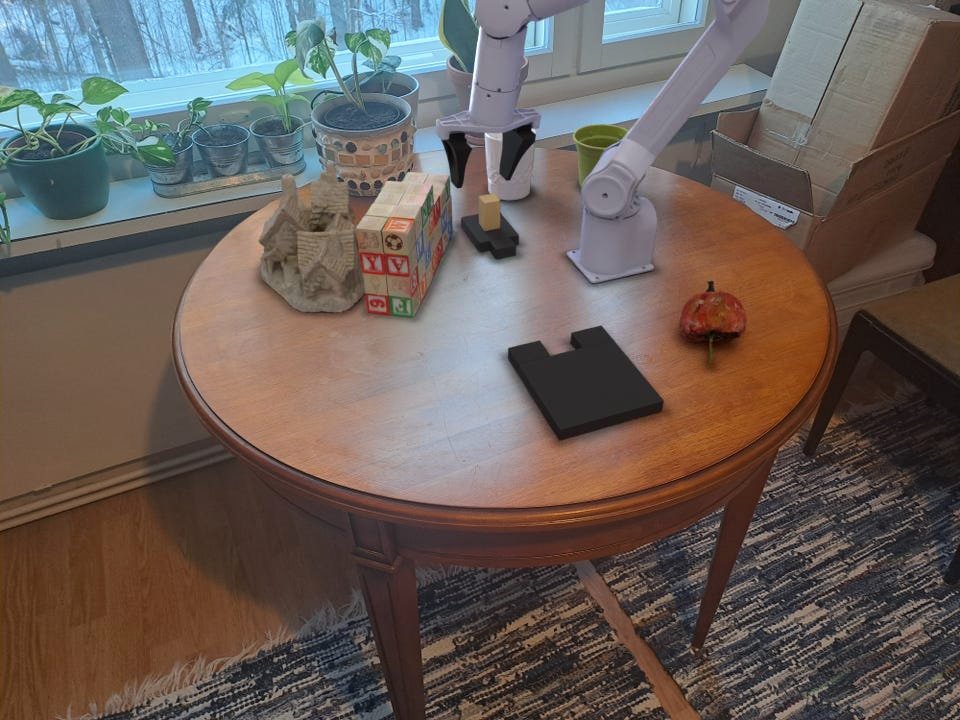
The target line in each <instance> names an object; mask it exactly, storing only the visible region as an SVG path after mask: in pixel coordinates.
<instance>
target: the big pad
mask: <svg viewBox="0 0 960 720" xmlns="http://www.w3.org/2000/svg"><path fill="white" fill-rule="evenodd" d="M570 345H571V346H572V348H573V349H572V350H568V351H564V352H560V353H555V354H551V353H549V351H548V349H547V348H546V347H545V345H544V344H543V343H542V341H541V340H540V339H539V340H535V341H531V342H527V343H523V344H518V345H514V346H511V347H508V348H507V359H508V361H509V363H510V364H511V366H512V367H513V369H514V371H515V373H516V374H517V376H518V377H519V379H520V380H521V382H522V383H523V385H524V386H525V388H526V390H527V392H528V393H529V395H530V396H531V398H532V399H533V401H534V403H535V404H536V406H537V407H538V409H539V410H540V412H541V414H542V415H543V416H544V419H545V420H546V422H547V424H548V425H549V427H550V428H551V430H552V431H553V433H554V434H555V436H556V438H557V439H558V441H564V440H567V439H570V438H573V437H577V436H580V435H584V434H588V433H591V432H594V431H598V430H601V429H605V428H609V427H612V426H616V425H619V424H622V423H626V422H629V421H633V420H636V419H637V420H638V419H640V418H643V417H648V416H651V415H654V414H658V413H661V412H662V411H663V407H664V402H665V400H664V399H663V398H662V396H661V395H660V394H659V393H658V392H657V390H656V389H655V388H654V387H653V386H652V384H651V383H650V382H649V380H648V379H647V378H646V377H645V376H644V375H643V373H642V372H641V371H640V370H639V368H638V367H637V366H636V365H635V364H634V363H633V361H632V360H631V359H630V358H629V357H628V355H627V354H626V353H625V352H624V351H623V349H622V348H621V347H620V346H619V345H618V344H617V342H616V341H615V339H614V338H613V337H612V336H611V335H610V334H609V332H608V331H607V330H606V329H605V328H604V326H603V325H601V324H600V325H596V326H593V327H589V328H585V329H581V330H580V329H579V330H577V331H576V330H575V331H573V332H571V333H570Z"/></svg>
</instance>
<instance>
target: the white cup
mask: <svg viewBox="0 0 960 720" xmlns="http://www.w3.org/2000/svg"><path fill="white" fill-rule="evenodd" d="M531 131H533V132H534V133H535V134H536V135H537V129H531ZM502 138H503V137H502V133H484V146H485V147H484V149H485V164H486V165H485V166H486V175H487V189H488V191H487V192H488V194H492V193H494V194H495V195H496V196H497V197H498V198H499V200H502V201H517V200H521V199H525V198H526V197H527V196H528V195H530V191H531V185H532V184H531V182H532V177H533V170H534V163H535V160H534V159H535V152H536V151H535V149H536V142H535V143H534V144H532V145H531V146H530V148H529V149H528V150H527V151H526V152H525V154H524V155H523V157H522V158H521V160H520V161H519V163H518V165H517V167H516V169H515V171H514V173H513V175H512V177H511V180H509V181H506V180H505V179H504V178H503V177H502V176H501V175H500V174H499V168H500V160H501V154H502ZM536 139H537V138H536ZM536 139H535V141H536Z"/></svg>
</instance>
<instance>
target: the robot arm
mask: <svg viewBox="0 0 960 720" xmlns="http://www.w3.org/2000/svg"><path fill="white" fill-rule="evenodd" d="M590 2H591V0H475V2H474V14H475V19H476V21H477V24H478V25H479V29H478V38H477V43H476V51H475V58H474V66H473V74H472V83H471V91H470V99H469V107H468V109H466V110H463V111H461V112H458V113H455V114H452V115H449V116H446V117H441V118H436V121H435V131H434V133H435V134H436V136H437V137H438V138H439V139H440V141H441V144H442V146H443V149H444V153H445V155H446V159H447V162H448V168H449V175H450V183H452V185H453V186H454V187H455V188H456V189H462V188H463V186H464V182H465V173H466V168H467V163H468V160H469V157H470V155H471V153H472V151H473V147H472V146H471V145H470V144H469V143H468V138H466V135H474V134H485V133H502V137H503V138H502V154H501V160H500V168H499V174H500V175H501V176H502V177H503V178H504V179H505V180H506V181H509V180H511V177H512V175H513V173H514V171H515V169H516V167H517V165H518V163H519V161H520V160H521V158H522V157H523V155H524V154H525V152H526V151H527V150H528V149H529V148H530V146H531V145H532V144H534V143H535V144H536V140H535V139H537V133H536V134H535V133H534V132H533V131H531V129H536V130H537V129H539V128H540V124H541V120H542V114H541V113H540V112H539V111H538V110H536V109H535V108H517V107H516V102H517V96H518V91H519V83H520V78H521V72H522V66H523V60H524V55H525V45H526V40H527V33H528V28H529V26H528V24H529V23H531V22H536V23H537V22H541V21H544V20H546V19H549V18H552V17H554V16H556V15H559V14H561V13H564V12H567V11H570V10H572V9H576V8H577V7H580V6H582V5H585V4H588V3H590ZM712 2H713V10H714V15H715V16H714V17H715V18H714V19H713V20H712V22H711V23H710V24H709V26H708V27H707V28H706V29H705V31H704V32H703V33H702V34H701V36H700V37H699V39H698V40H697V41H696V43H695V44H694V45H693V46H692V47H691V49H690V51H689V52H688V53H687V55H686V56H685V57H684V58H683V60H682V61H681V62H680V64H679V65H678V66H677V67H676V69H675V70H674V72H673V73H672V74H671V76H670V77H669V78H668V79H667V81H666V82H665V83H664V85H663V86H662V88H661V89H660V90H659V91H658V92H657V94H656V95H655V96H654V98H653V99H652V100H651V102H650V103H649V104H648V106H647V107H646V109H644V111H643V112H642V114H641V115H640V116H639V118H638V119H637V120H636V122H634V124H633V125H632V126H631V127H630V129H628V130H629V131H628V132H627V134H626V135H625V136H624V137H623V139H622V140H620V141H619V142H617V143H615V144H613V145H611V146H609V147H608V148H607V149H605V150H604V152H603V153H602V155H601V157H600V160H599V161H598V163H597V164H596V166H595V167H594V169H593V170H592V172H591V173H590V174H589V175H588V176H587V177H586V179H585V180H584V182H583V184H582V187H581V186H580V197H581V200H582V203H583V206H582V207H583V208H582V218H581V228H580V229H581V231H580V241H579V248H578V249H573V250H569V251H567V252H566V257H568V258H569V260H570V261H571V262H572V263H573V264H574V265H575V267H577V269H578V270H579V271H580V273H582V274H583V275H584V277H585V278H586V279H587V280H588V281H589V282H590V283H591V284H598V283H602V282H607V281H612V280H616V279H621V278H624V277H629V276H633V275H638V274H642V273H645V272H652V271H654V268H655V265H653V264H652V260H653V254H654V248H655V243H656V237H657V232H658V231H657V230H658V216H657V212H656V209H655V207H654V205H653V203H652V201H651V200H649V199H648V198H647V197H643V196H642V197H640V196H639V193H638V187H639V186H640V184H641V183H642V181H643V180H644V178H645V177H646V175H647V172H648V171H649V169H650V168H651V166H652V165H653V163H654V162H655V161H656V159H657V158H658V157H659V155H660V154H661V153H662V152H663V150H664V149H665V148H666V147H667V145H668V144H670V142H671V141H672V139H673V138H674V137H675V136H676V134H677V133H678V132H679V131H680V130H681V129H682V127H683V126H684V125H685V124H686V122H687V121H688V120H689V119H690V118H691V116H692V115H693V114H694V113H695V111H696V110H697V109H698V108H699V107H700V105H701V104H702V103H703V101H705V100H706V99H707V97H708V96H709V94H710V93H711V92H712V91H713V89H715V87H716V86H717V85H718V83H719V82H720V81H721V80H722V79H723V77H724V76H725V75H726V74H727V73H728V72H729V70H730V69H731V68H732V67H733V65H734V64H735V63H736V62H737V60H738V59H739V58H740V57H741V55H742V54H743V53H744V52H745V51H746V50H747V48H748V47H749V46H750V45H751V43H752V42H753V41H754V39H756V37H757V36H758V35H759V33H760V32H761V31H762V29H763V27H764V25H765V23H766V21H767V18H768V15H769V9H770V2H771V0H712Z"/></svg>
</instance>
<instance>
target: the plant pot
mask: <svg viewBox="0 0 960 720" xmlns="http://www.w3.org/2000/svg"><path fill="white" fill-rule="evenodd" d="M629 130H630V129H627V128H625V127H623V126H618V125H615V124H607V123H606V124H605V123H593V124H588V125H585V126H581V127H578V128H577V129H575V131H574V132H573V134H572V139H573V141H574V142H575V148H576V153H577V162H578V177H579V178H578V179H579V186H580V188H581V187H582V184H583V182H584V180H585V179H586V177H587V176H588V175H589V174H590V173H591V172H592V170H593V169H594V167H595V166H596V164H597V163H598V161H599V160H600V157H601V155H602V153H603V152H604V150H605V149H607V148H608V147H609V146H611V145H613V144H615V143H617V142H619V141H620V140H622V139H623V137H624V136H625V135H626V134H627V132H628V131H629Z"/></svg>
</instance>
